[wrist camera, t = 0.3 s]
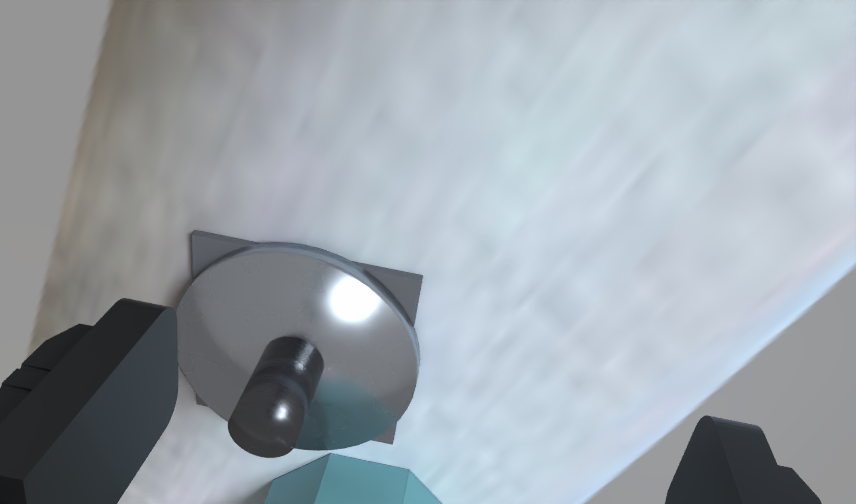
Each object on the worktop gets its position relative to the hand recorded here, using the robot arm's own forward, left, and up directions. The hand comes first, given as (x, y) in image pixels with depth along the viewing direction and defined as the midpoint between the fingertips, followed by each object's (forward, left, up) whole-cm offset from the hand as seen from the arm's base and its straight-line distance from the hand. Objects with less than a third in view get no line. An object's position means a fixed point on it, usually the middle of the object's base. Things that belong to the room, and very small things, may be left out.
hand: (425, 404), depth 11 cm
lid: (+14, -6, -17) cm, 23 cm away
